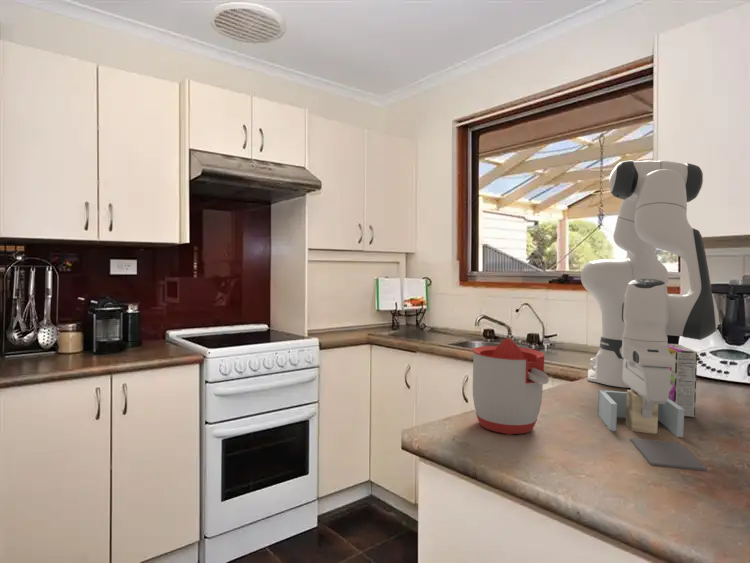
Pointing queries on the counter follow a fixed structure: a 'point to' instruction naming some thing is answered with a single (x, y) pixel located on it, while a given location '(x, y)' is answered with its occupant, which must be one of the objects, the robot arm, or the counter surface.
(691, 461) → the charcoal mat
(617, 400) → the open-side box
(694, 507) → the counter surface
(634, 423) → the birch block
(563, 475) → the counter surface
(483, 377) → the citrus juicer
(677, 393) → the candy bar box
